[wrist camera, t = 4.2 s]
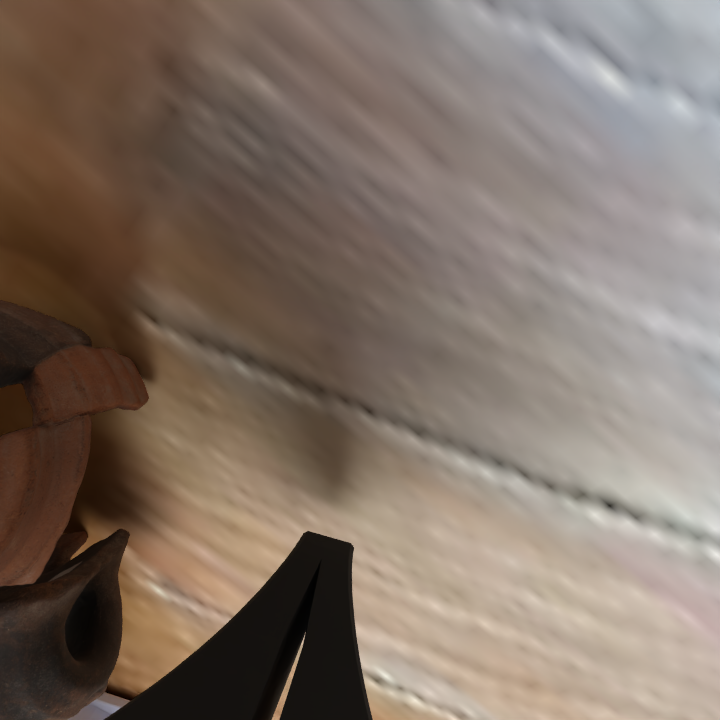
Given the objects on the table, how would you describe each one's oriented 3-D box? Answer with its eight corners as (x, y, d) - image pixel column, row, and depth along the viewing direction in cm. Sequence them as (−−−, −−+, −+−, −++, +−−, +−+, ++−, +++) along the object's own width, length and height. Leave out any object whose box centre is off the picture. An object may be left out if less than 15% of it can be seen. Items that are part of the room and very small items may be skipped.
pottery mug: (-96, 416, 16) (-515, 414, 8) (125, 287, 18) (-50, 176, 10) (62, 694, 16) (-234, 998, 7) (284, 538, 17) (240, 651, 9)
